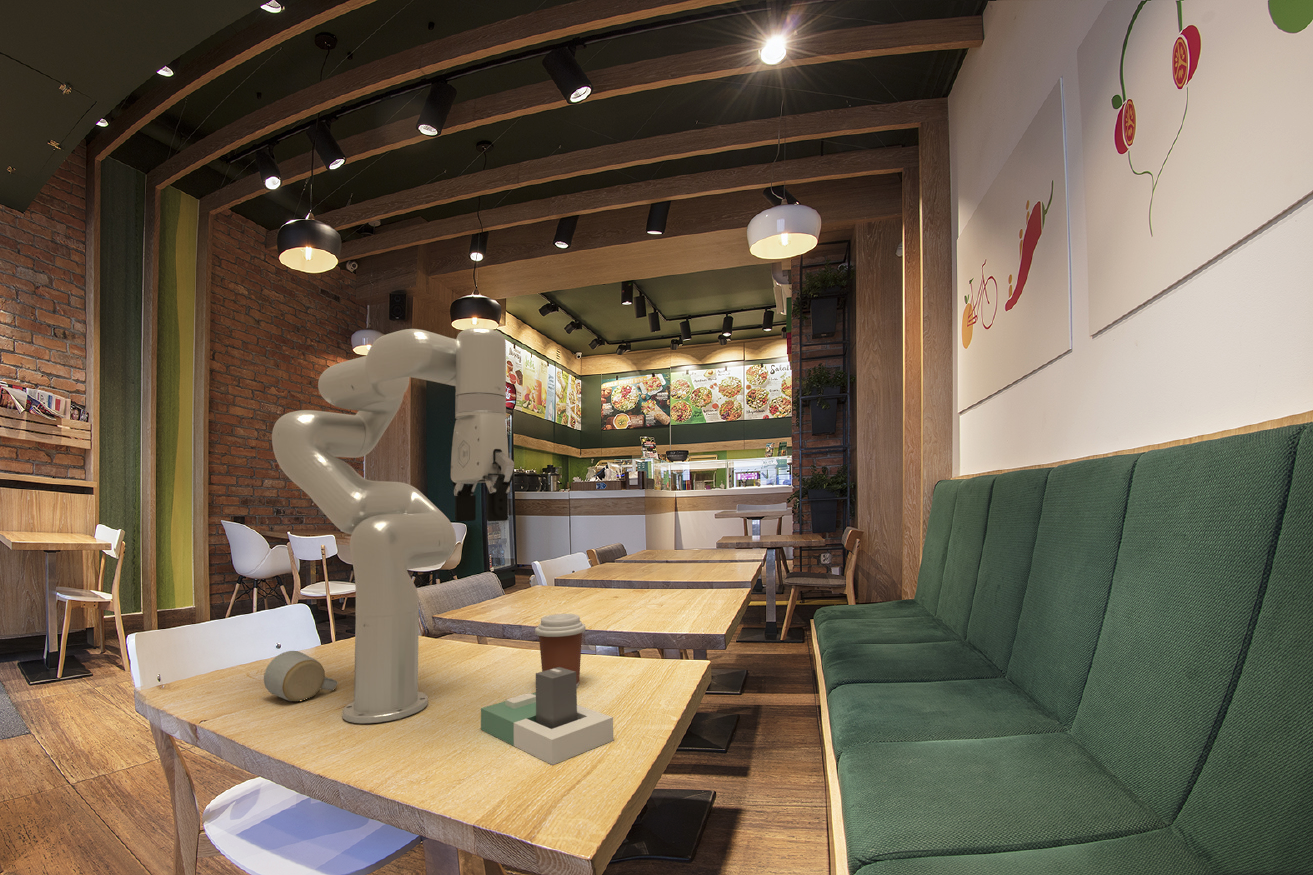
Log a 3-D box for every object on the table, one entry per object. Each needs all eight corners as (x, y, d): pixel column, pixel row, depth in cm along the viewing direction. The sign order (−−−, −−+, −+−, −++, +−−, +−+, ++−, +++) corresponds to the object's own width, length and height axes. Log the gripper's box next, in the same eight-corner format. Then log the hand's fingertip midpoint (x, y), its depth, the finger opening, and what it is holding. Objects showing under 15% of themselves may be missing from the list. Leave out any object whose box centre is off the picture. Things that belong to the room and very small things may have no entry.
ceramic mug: (282, 708, 98) (284, 661, 99) (261, 700, 103) (264, 655, 104) (346, 692, 107) (348, 648, 108) (324, 685, 111) (326, 643, 112)
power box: (480, 729, 86) (480, 702, 86) (539, 710, 93) (538, 685, 93) (552, 764, 73) (551, 732, 73) (613, 740, 80) (612, 711, 80)
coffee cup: (553, 676, 111) (552, 611, 113) (595, 680, 108) (594, 613, 109) (525, 691, 103) (524, 621, 104) (570, 696, 99) (568, 623, 101)
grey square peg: (536, 741, 81) (535, 671, 82) (560, 732, 84) (559, 664, 85) (553, 748, 78) (552, 676, 79) (577, 739, 81) (576, 669, 82)
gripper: (432, 414, 94) (431, 522, 92) (486, 398, 82) (486, 522, 80) (476, 418, 100) (475, 519, 98) (532, 404, 87) (533, 519, 86)
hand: (480, 520), depth 89 cm, fingers open, 9 cm apart
